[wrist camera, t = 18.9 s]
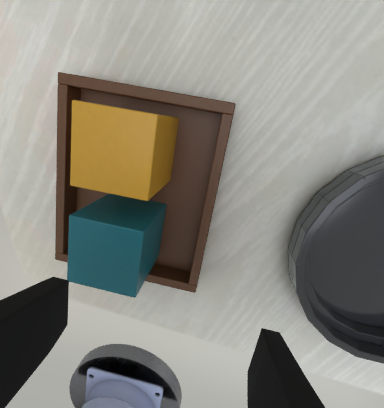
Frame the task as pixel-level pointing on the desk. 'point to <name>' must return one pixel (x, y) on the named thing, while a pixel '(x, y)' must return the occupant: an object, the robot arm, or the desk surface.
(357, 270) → the pan
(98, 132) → the mustard block
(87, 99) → the tray
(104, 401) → the robot arm
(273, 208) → the desk surface
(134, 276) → the teal block
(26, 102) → the desk surface
